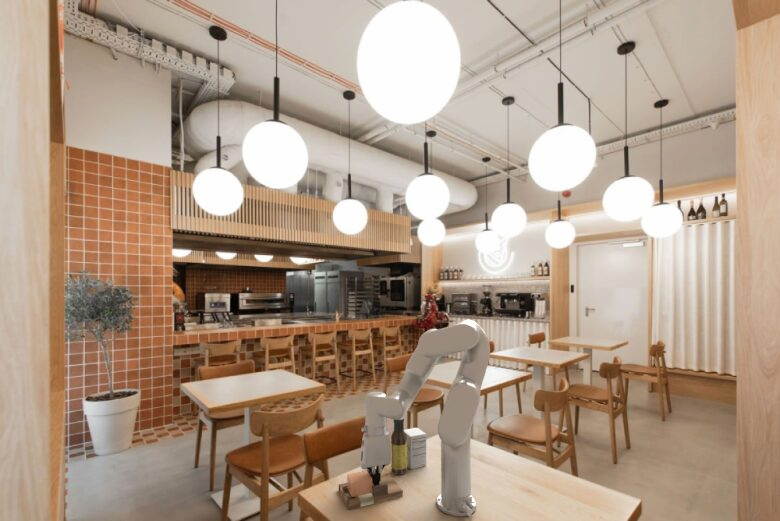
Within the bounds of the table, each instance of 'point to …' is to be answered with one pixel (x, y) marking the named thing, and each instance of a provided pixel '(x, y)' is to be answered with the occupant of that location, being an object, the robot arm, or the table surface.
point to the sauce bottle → (399, 448)
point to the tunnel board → (373, 493)
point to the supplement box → (416, 448)
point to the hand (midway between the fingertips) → (375, 483)
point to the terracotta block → (359, 483)
